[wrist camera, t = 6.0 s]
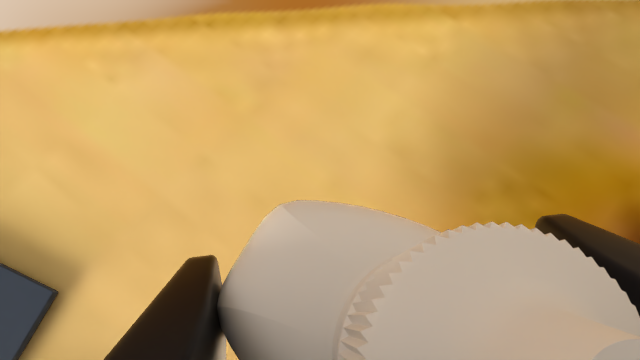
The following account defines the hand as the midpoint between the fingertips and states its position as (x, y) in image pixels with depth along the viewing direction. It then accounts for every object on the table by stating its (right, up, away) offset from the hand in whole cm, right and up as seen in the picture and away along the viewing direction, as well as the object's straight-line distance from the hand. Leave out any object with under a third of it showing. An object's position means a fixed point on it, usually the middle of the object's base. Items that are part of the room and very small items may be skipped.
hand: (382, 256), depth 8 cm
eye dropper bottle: (0, -3, +6) cm, 7 cm away
